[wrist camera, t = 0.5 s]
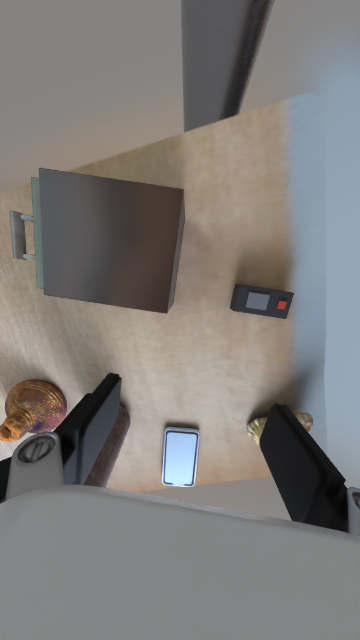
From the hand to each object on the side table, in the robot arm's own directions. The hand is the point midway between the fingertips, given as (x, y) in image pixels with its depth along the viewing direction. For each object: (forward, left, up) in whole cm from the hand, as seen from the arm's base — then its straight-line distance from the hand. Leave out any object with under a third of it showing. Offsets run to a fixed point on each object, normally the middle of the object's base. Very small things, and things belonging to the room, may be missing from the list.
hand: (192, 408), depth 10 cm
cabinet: (-10, -11, -21) cm, 26 cm away
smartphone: (+30, +3, -21) cm, 37 cm away
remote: (-6, +11, -21) cm, 24 cm away
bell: (+22, -28, -21) cm, 42 cm away
